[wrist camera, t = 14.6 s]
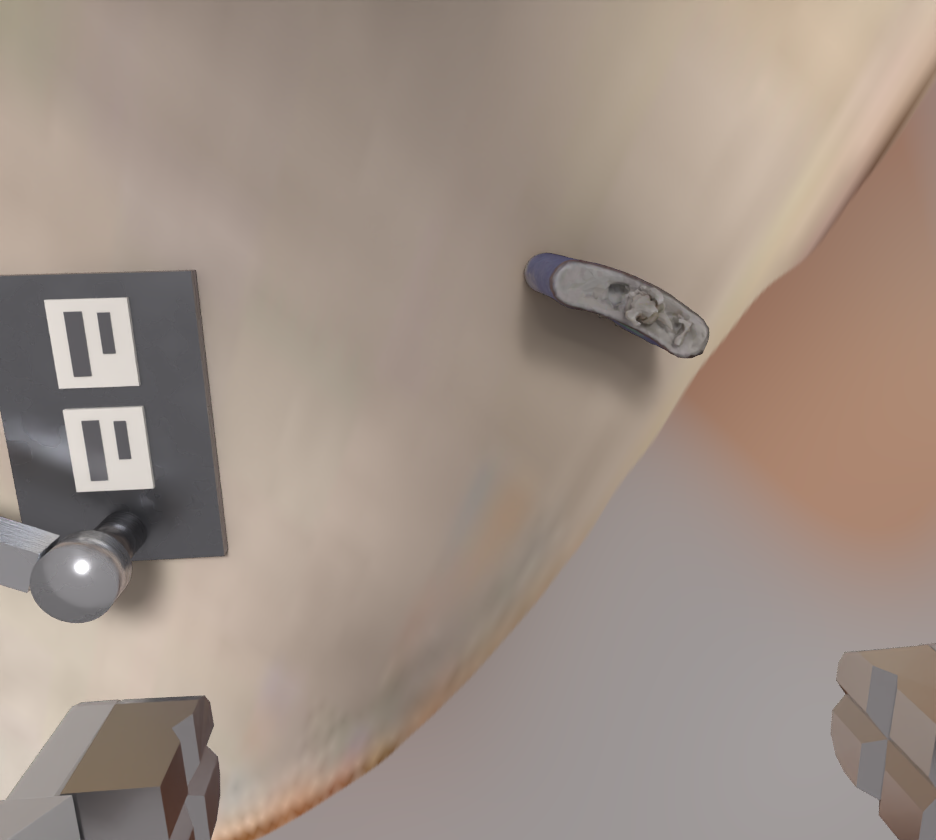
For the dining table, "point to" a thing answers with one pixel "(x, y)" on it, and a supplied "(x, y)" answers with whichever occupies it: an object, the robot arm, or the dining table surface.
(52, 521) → the chassis plate
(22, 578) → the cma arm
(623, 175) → the dining table surface
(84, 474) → the plate
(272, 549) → the dining table surface
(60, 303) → the label plate
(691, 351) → the flask
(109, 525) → the dark grey cylinder
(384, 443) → the dining table surface
